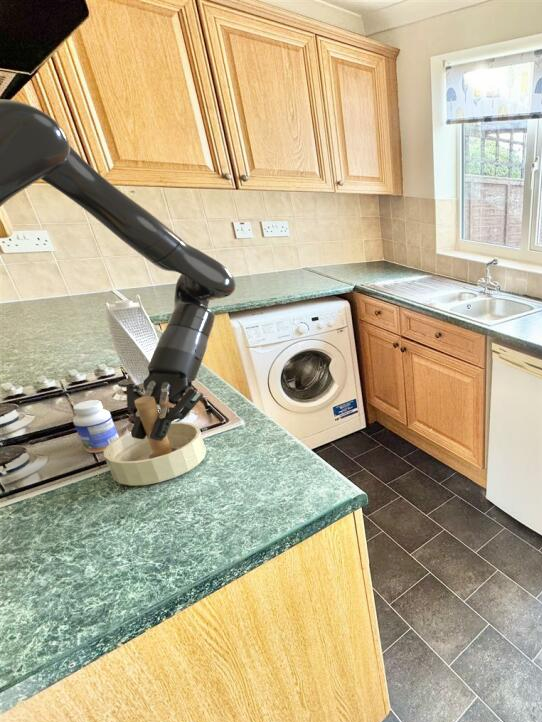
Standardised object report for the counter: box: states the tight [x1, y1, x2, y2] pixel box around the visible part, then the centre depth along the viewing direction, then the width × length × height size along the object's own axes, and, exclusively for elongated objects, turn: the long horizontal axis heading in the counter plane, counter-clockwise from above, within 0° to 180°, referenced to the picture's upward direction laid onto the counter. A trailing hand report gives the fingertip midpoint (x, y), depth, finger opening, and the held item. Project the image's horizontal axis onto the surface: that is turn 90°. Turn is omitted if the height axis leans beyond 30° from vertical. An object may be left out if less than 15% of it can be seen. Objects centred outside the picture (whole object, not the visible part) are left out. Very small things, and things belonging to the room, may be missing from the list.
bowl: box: [103, 421, 207, 486], centre depth 80 cm, size 14×14×6 cm
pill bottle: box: [72, 399, 120, 454], centre depth 84 cm, size 5×5×10 cm
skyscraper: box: [105, 293, 159, 385], centre depth 94 cm, size 8×8×28 cm
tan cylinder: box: [134, 396, 177, 459], centre depth 78 cm, size 4×4×13 cm
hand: (146, 438), depth 77 cm, fingers closed on tan cylinder, 3 cm apart
